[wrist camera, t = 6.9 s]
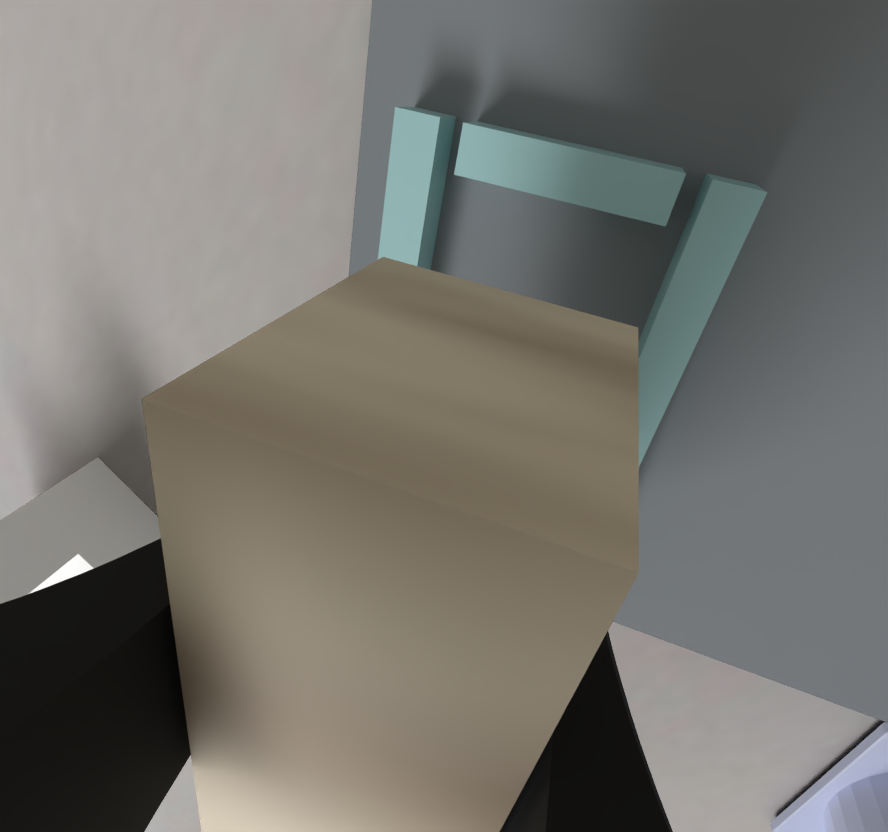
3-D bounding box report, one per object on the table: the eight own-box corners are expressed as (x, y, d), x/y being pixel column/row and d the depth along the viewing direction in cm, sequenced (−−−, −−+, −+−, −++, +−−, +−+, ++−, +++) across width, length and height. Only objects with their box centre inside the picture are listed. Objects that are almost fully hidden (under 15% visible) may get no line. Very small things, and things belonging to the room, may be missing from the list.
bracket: (43, 513, 27) (-139, 637, 21) (103, 453, 23) (-96, 582, 17) (227, 686, 30) (117, 842, 23) (306, 657, 26) (201, 833, 20)
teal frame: (755, 184, 11) (767, 191, 10) (572, 589, 18) (568, 617, 17) (414, 107, 12) (395, 106, 11) (361, 512, 19) (346, 535, 18)
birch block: (496, 682, 13) (427, 964, 9) (339, 620, 13) (204, 853, 9) (638, 327, 8) (638, 572, 4) (383, 256, 9) (140, 398, 4)
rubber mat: (2200, -348, 6) (2348, -391, 5) (923, 720, 17) (932, 739, 16) (426, -441, 9) (413, -474, 9) (335, 506, 20) (327, 516, 20)
